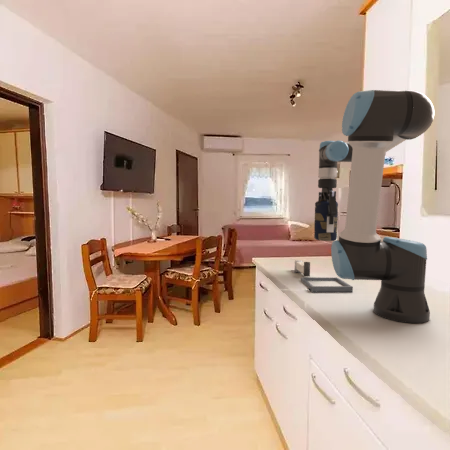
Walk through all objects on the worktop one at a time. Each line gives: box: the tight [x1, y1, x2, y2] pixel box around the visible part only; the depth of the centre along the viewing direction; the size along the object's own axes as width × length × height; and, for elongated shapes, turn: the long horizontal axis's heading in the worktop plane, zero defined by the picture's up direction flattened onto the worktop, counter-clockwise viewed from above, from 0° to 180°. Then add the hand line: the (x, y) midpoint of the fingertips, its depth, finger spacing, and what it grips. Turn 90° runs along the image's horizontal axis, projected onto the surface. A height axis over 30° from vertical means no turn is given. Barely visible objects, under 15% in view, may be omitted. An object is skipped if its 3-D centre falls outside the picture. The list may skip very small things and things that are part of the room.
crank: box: [293, 259, 311, 277], centre depth 148 cm, size 16×4×7 cm, turn 3°
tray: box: [300, 277, 354, 294], centre depth 131 cm, size 15×16×2 cm
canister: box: [313, 199, 339, 242], centre depth 141 cm, size 10×10×18 cm
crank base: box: [290, 269, 302, 274], centre depth 154 cm, size 6×6×1 cm
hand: (325, 231), depth 141 cm, fingers closed on canister, 9 cm apart
